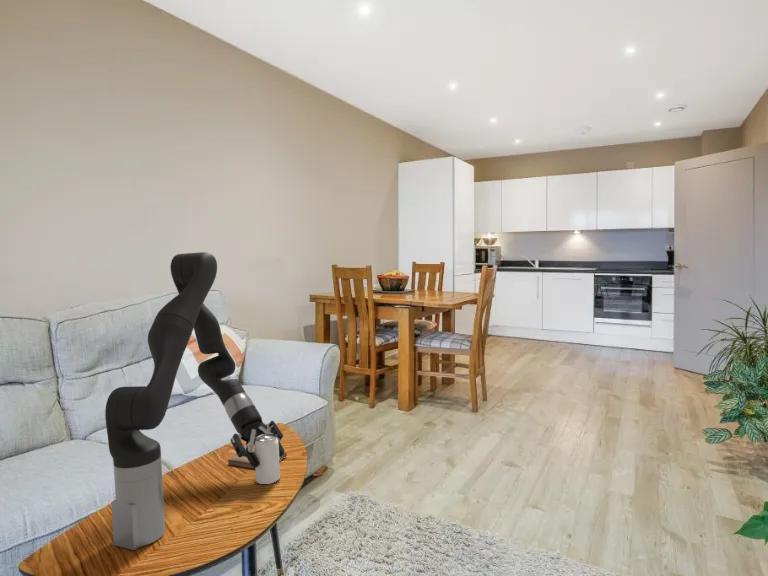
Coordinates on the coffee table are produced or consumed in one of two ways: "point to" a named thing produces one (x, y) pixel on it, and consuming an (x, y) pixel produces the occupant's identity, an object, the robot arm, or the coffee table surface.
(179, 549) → the coffee table surface
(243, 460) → the board
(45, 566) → the coffee table surface
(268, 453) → the can
